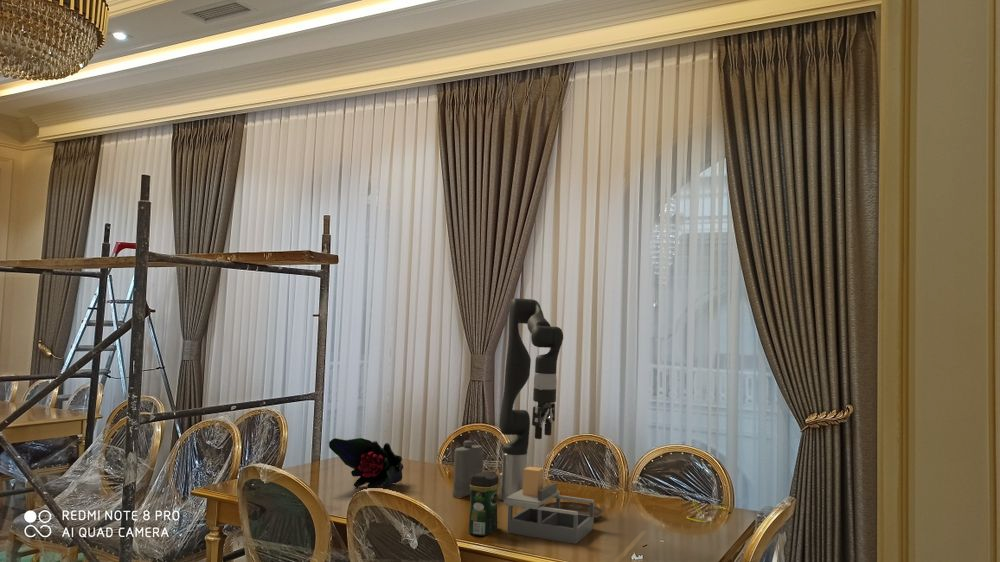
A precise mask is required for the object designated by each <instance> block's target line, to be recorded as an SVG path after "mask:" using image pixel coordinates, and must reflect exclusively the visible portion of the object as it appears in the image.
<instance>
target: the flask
mask: <svg viewBox="0 0 1000 562" xmlns="http://www.w3.org/2000/svg"><path fill="white" fill-rule="evenodd" d="M473 442H474V441H472V440H464V441H463V446H460V447H456V448H455V449H454V461H453V489H452V497H454V496H455V497H454V498H456V497H464V498H466V497H468V496H467V495H469V496H471V495H470V494H471V491H470V477H471V476H473V475H475V474H478V473H481V472H483V470H484V469H483V464H484V446H482V445H477V444H475V445H474V443H473ZM465 496H466V497H465Z"/></svg>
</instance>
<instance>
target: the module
mask: <svg viewBox="0 0 1000 562" xmlns="http://www.w3.org/2000/svg"><path fill="white" fill-rule="evenodd" d="M544 471H545V470H544V467H535V466H527V468H525V469H523V495H527V496H535V497H538V491H539V490H540V489H542V488H544Z"/></svg>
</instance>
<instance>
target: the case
mask: <svg viewBox="0 0 1000 562" xmlns="http://www.w3.org/2000/svg"><path fill="white" fill-rule="evenodd" d="M554 498H555V500H556V501H555V502H556V508H549V507H543V506H541V505H540V506H539V508H538V509H537V508H530V507H523V506H517V505H510V504H507V505H508V510H507V512H508V514H507V533H509V534H515V535H520V536H527V537H533V538H539V539H545V540H552V541H555V542H556V541H558V542H563V543H568V544H574V545H575V544H576V545H577V544H578V543H579V542H580V541H581V540H583V539H584V538H585V537H586V536H587V535H588V534H589V533H591V531H592V530H594V522H595V521H594V506H595V500H594V499H589V498H583V497H582V498H581V497H577V496H576V497H575V496H568V495H561V494H559V495H556V496H555V497H553V498H552V499H554ZM561 499H562V500H568V501H573V502H580V503H589V505H590V515H584V514H578V512H576V511H569V510H563V509H560V502H561ZM514 507H517V508H518V507H519V508H525V509H523V510H521V511H520V512H518V513H516V514H514V515H513V510H514V509H513V508H514Z"/></svg>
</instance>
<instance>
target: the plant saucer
mask: <svg viewBox="0 0 1000 562" xmlns="http://www.w3.org/2000/svg"><path fill="white" fill-rule="evenodd" d="M542 507H549V508H556V501H555V502H549V503H548V502H547V503H545V504H544V505H543V506H542ZM560 509H563V510H569V511H576V512H578V514H584V515H590V504H587V503H584V502H577V501H560ZM603 515H604V511H603V510H602V509H601V508H600V507H598V506H595V505H594V521H593V522H595V521H599V520H600V519H601V518H602V516H603Z"/></svg>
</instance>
